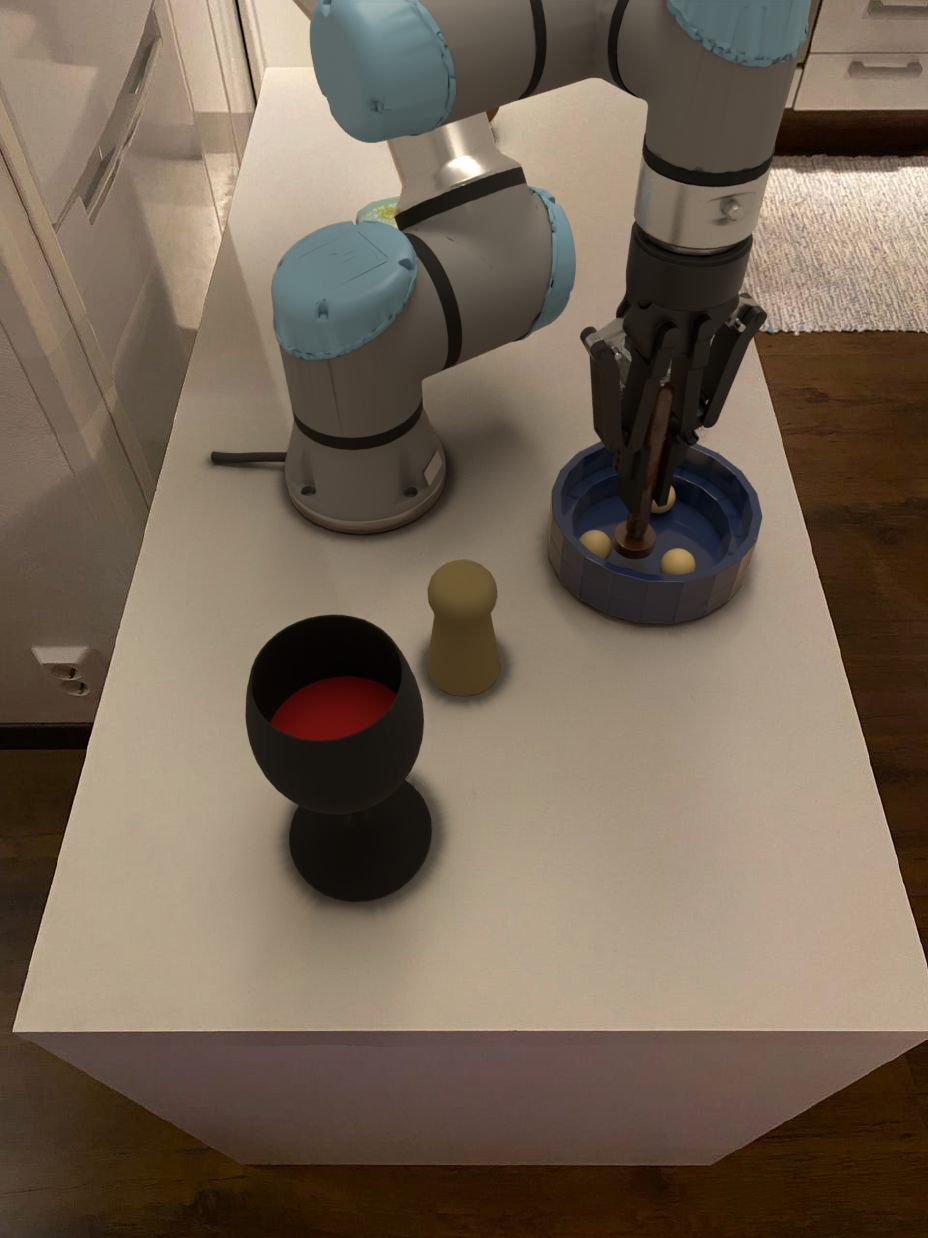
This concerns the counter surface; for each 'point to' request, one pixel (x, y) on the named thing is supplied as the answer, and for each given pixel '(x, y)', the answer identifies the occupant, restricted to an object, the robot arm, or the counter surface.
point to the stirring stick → (647, 483)
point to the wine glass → (342, 752)
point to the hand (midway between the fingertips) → (641, 498)
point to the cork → (463, 628)
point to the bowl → (697, 522)
